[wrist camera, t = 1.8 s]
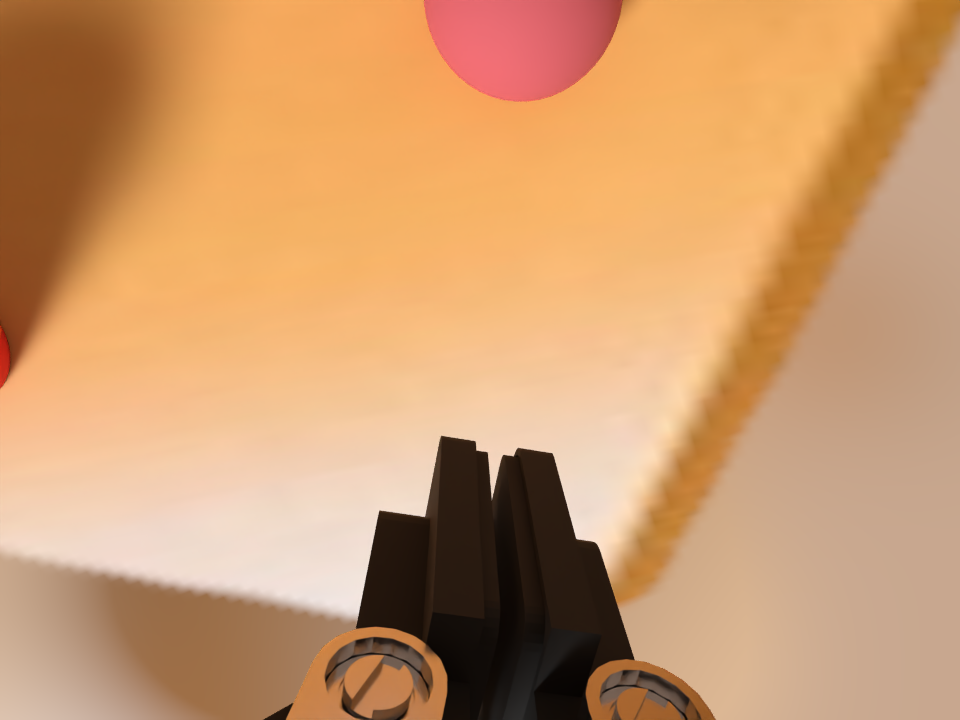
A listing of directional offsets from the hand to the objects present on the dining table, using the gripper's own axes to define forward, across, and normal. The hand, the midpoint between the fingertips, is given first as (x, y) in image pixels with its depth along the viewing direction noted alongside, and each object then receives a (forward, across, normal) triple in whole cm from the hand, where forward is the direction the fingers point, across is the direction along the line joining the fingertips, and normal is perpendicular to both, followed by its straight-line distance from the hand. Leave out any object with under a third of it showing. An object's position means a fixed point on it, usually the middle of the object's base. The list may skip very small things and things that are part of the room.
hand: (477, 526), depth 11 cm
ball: (+14, 0, -10) cm, 17 cm away
